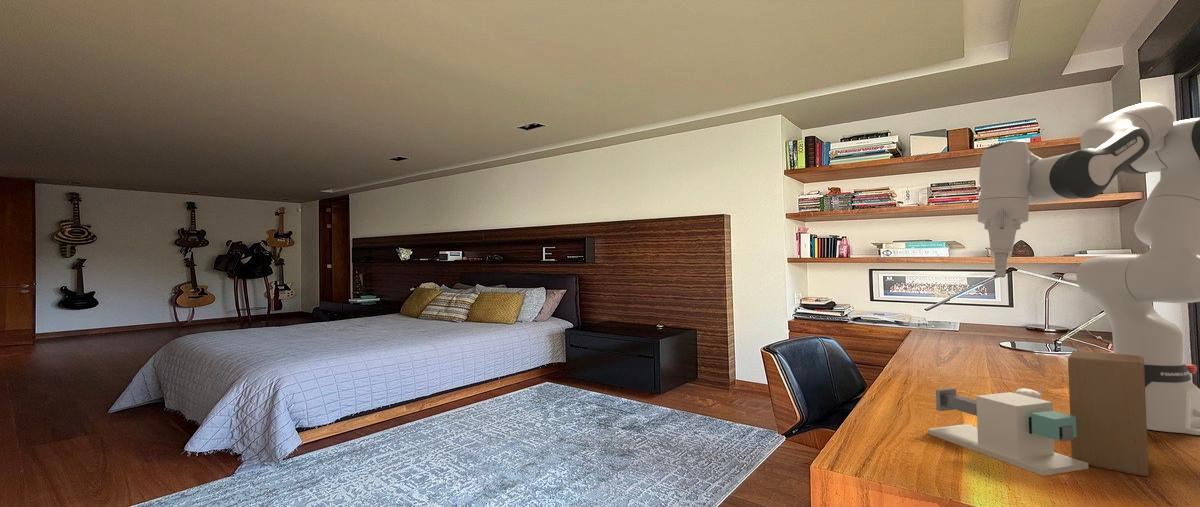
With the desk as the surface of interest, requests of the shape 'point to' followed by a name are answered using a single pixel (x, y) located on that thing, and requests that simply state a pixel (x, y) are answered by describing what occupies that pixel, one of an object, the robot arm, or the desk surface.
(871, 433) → the desk surface
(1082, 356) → the wooden block
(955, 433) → the bearing block
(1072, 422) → the block
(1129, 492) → the desk surface
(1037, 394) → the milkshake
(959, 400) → the shaft
